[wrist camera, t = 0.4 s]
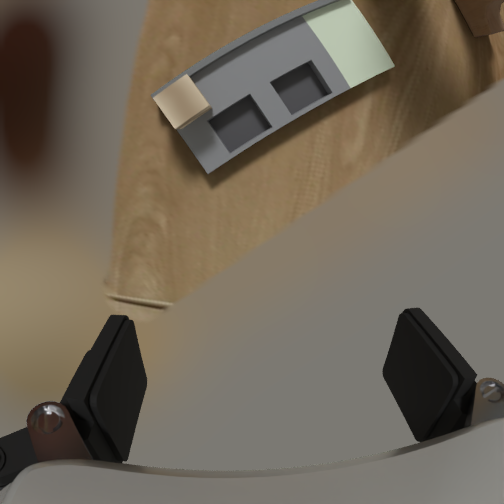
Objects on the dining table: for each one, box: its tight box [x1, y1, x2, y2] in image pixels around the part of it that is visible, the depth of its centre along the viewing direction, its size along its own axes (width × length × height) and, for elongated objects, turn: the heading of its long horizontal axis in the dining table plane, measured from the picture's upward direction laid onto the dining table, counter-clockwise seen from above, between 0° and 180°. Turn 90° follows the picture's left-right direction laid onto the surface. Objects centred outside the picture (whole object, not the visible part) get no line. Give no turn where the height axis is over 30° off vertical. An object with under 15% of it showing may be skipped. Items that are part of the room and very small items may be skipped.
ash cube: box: [153, 74, 212, 129], centre depth 29 cm, size 4×4×4 cm
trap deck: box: [151, 0, 395, 174], centre depth 30 cm, size 26×11×3 cm, turn 123°
